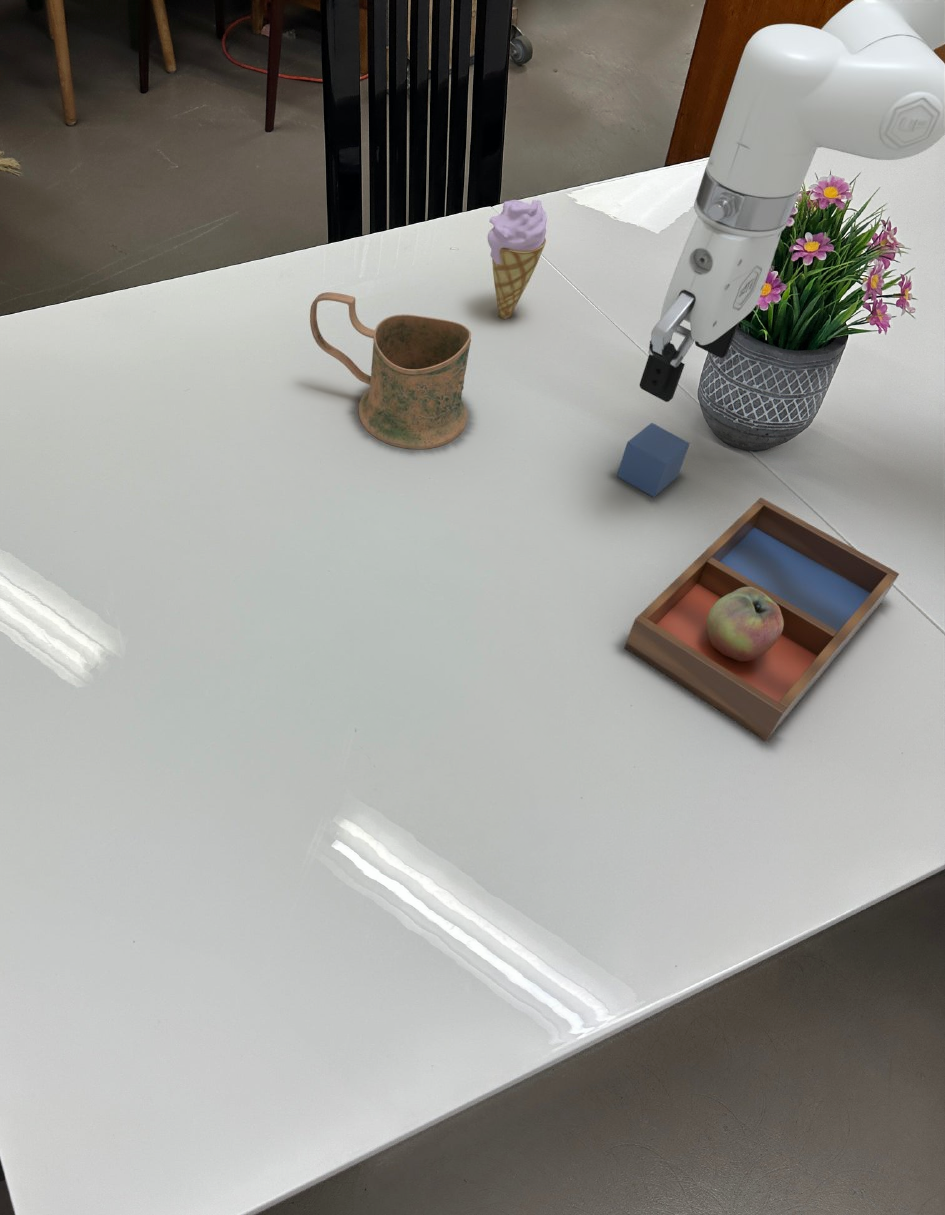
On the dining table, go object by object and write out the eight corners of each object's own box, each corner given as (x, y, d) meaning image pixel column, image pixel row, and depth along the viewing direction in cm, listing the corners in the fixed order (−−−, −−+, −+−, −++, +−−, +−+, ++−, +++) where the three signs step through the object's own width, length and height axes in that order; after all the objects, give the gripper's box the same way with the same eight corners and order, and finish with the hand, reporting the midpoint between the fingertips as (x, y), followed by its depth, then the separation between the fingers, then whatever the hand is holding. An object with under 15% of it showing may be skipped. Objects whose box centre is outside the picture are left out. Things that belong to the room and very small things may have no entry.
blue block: (640, 456, 113) (651, 422, 109) (677, 477, 111) (690, 443, 108) (616, 476, 111) (627, 441, 107) (653, 498, 109) (666, 463, 105)
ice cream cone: (502, 338, 126) (524, 217, 115) (463, 313, 129) (481, 194, 118) (539, 317, 129) (565, 198, 118) (501, 294, 132) (522, 176, 121)
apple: (689, 671, 93) (710, 626, 88) (705, 607, 98) (725, 562, 93) (760, 694, 91) (785, 650, 87) (772, 628, 96) (796, 583, 92)
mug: (328, 357, 122) (332, 261, 113) (479, 396, 118) (496, 300, 109) (289, 417, 114) (290, 319, 105) (449, 460, 111) (464, 363, 102)
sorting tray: (747, 526, 106) (760, 496, 104) (881, 602, 100) (899, 573, 98) (623, 647, 95) (634, 618, 92) (766, 741, 89) (783, 713, 86)
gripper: (734, 253, 81) (668, 431, 94) (836, 180, 90) (764, 352, 103) (649, 215, 85) (597, 392, 97) (756, 148, 94) (695, 318, 106)
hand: (683, 371), depth 100 cm, fingers open, 9 cm apart
